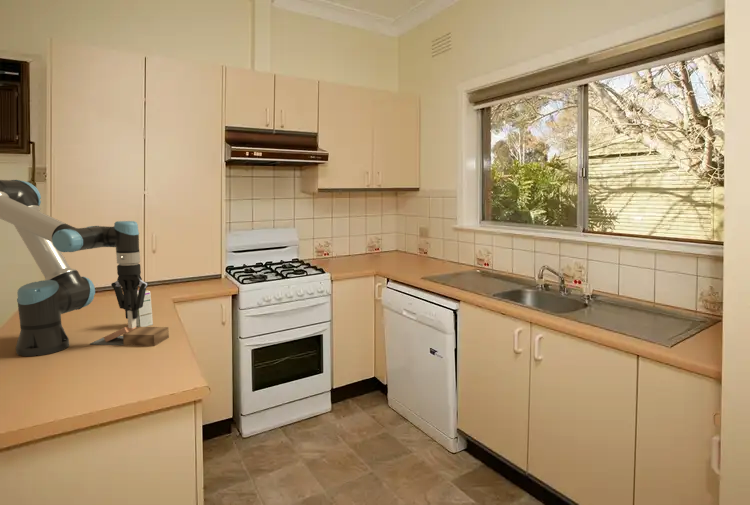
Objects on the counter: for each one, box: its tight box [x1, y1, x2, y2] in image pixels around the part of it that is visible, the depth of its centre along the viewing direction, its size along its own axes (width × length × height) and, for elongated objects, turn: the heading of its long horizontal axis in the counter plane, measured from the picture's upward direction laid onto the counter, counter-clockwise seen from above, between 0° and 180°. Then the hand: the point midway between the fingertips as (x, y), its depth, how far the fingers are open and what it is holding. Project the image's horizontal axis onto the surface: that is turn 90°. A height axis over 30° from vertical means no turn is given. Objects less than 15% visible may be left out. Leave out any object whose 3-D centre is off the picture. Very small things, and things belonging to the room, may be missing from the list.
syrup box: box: [136, 289, 154, 328], centre depth 192 cm, size 6×6×14 cm
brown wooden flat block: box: [122, 326, 170, 347], centre depth 172 cm, size 12×10×4 cm
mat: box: [89, 334, 125, 346], centre depth 173 cm, size 13×10×1 cm
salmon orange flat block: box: [104, 325, 137, 342], centre depth 172 cm, size 9×6×2 cm, turn 84°
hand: (132, 327), depth 172 cm, fingers closed
